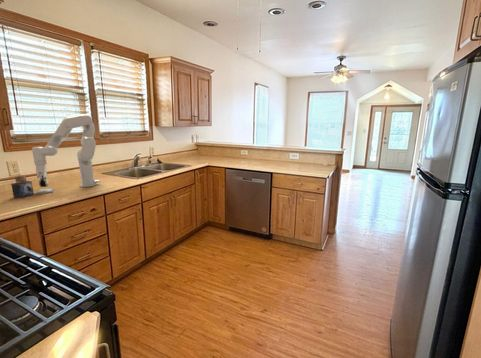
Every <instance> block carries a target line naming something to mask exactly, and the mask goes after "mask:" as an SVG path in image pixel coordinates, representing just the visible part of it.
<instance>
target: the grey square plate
mask: <svg viewBox="0 0 481 358" xmlns="http://www.w3.org/2000/svg"><path fill="white" fill-rule="evenodd" d="M54 191H55V188H43V189H42V188H41V189H38V191H37V192H36V195H41V194H50V193H53V192H54Z"/></svg>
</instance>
